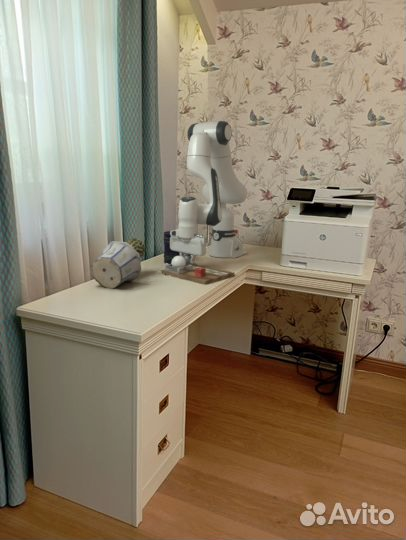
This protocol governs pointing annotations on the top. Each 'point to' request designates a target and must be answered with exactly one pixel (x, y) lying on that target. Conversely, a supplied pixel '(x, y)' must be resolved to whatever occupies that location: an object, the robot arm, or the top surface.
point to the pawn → (187, 258)
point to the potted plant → (118, 263)
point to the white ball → (178, 262)
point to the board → (201, 279)
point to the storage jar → (168, 249)
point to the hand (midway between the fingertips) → (187, 262)
